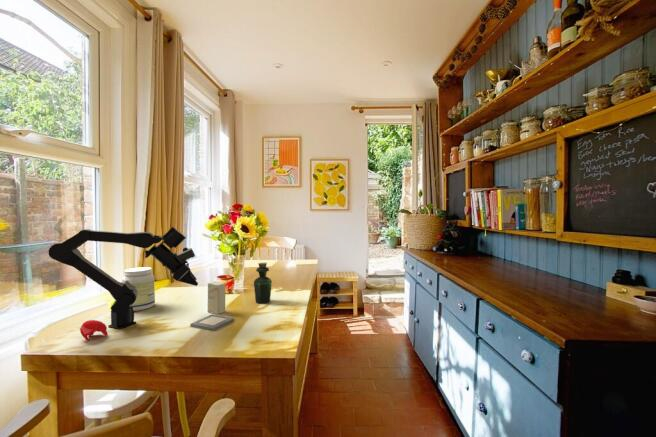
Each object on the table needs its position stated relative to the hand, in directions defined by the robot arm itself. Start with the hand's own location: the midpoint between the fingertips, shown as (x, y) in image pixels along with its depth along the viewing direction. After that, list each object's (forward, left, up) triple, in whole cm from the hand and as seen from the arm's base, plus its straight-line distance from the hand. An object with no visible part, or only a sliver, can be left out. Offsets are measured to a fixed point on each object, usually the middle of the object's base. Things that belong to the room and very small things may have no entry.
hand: (196, 282), depth 127 cm
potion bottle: (+25, -15, -13) cm, 32 cm away
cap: (-30, +15, -14) cm, 36 cm away
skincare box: (+6, -5, -13) cm, 15 cm away
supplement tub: (-2, +31, -13) cm, 34 cm away
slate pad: (-5, -13, -13) cm, 19 cm away
